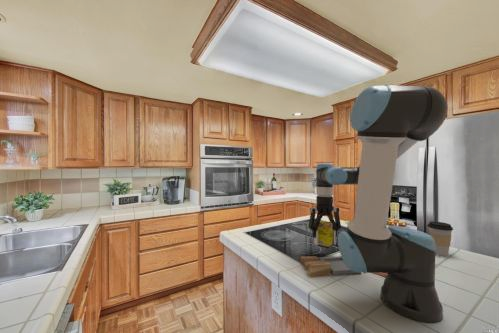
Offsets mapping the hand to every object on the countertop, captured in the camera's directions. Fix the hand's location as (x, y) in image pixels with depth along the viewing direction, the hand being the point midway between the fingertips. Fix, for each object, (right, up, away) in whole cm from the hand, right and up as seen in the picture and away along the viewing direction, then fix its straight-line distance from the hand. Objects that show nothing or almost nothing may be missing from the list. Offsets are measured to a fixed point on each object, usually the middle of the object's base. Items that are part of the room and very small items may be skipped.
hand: (324, 243), depth 99 cm
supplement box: (0, -1, 0) cm, 1 cm away
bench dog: (-8, -6, -17) cm, 20 cm away
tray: (+2, -6, -11) cm, 13 cm away
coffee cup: (+58, -7, +4) cm, 59 cm away
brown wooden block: (-9, -6, -10) cm, 15 cm away
